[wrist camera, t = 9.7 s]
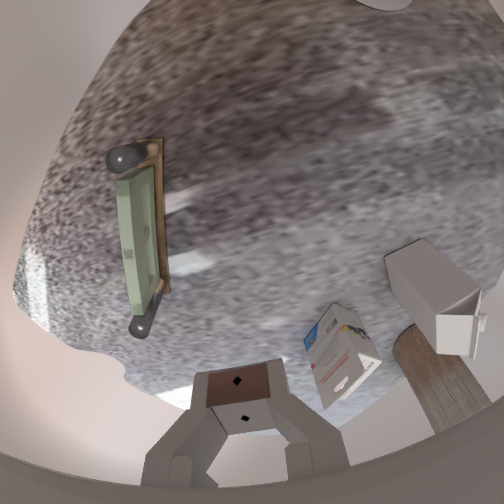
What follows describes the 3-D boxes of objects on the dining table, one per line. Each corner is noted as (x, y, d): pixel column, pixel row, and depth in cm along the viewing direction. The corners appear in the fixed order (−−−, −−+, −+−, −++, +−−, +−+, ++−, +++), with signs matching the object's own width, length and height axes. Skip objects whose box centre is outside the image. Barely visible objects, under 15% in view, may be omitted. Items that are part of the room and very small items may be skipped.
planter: (402, 367, 52) (447, 454, 31) (385, 343, 48) (437, 443, 28) (441, 337, 49) (496, 418, 29) (428, 310, 46) (496, 400, 25)
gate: (142, 166, 33) (115, 180, 25) (153, 166, 33) (129, 179, 25) (150, 278, 39) (132, 314, 31) (160, 278, 39) (143, 315, 31)
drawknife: (139, 139, 33) (101, 147, 23) (163, 138, 33) (133, 145, 23) (149, 289, 41) (127, 337, 31) (170, 290, 42) (153, 340, 32)
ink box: (326, 348, 48) (350, 417, 34) (302, 340, 46) (321, 412, 33) (356, 311, 45) (392, 378, 31) (333, 300, 44) (365, 370, 30)
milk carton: (391, 292, 44) (451, 375, 26) (383, 256, 41) (454, 337, 24) (426, 274, 43) (494, 346, 25) (421, 237, 40) (501, 304, 23)
